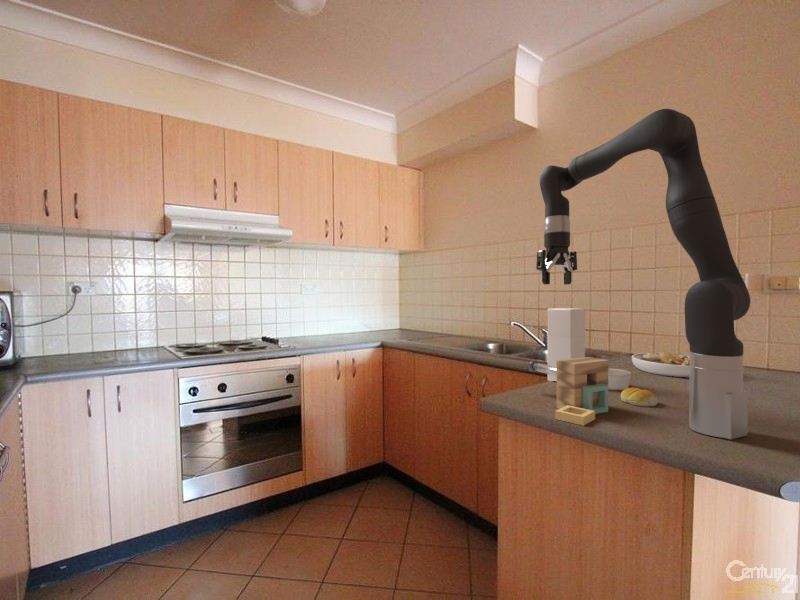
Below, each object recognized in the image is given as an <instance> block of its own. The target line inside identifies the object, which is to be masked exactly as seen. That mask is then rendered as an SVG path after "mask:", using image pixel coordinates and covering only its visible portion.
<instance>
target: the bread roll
mask: <svg viewBox="0 0 800 600" xmlns="http://www.w3.org/2000/svg"><path fill="white" fill-rule="evenodd" d="M620 400H621V401H622V402H623V401H624V403H627V404H629V405H633V406H638V407H655V406H657V405H658V403H659V398H658V397H657V395H656V394H655V393H653V392H652V391H651V390H647V389H641V388H639V387H628V388H627V389H625V390H621V394H620Z"/></svg>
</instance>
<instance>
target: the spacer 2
mask: <svg viewBox="0 0 800 600" xmlns="http://www.w3.org/2000/svg"><path fill="white" fill-rule="evenodd" d="M593 392H598V406H593ZM583 409H588V410H593V411H595V415H597V414H602V413H603V414H604V413H608V412H609V390H608V385H605V384H596V385H589V386H583Z"/></svg>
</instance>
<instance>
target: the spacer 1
mask: <svg viewBox="0 0 800 600" xmlns="http://www.w3.org/2000/svg"><path fill="white" fill-rule="evenodd" d="M554 419H555V420H559V421H562V422H566V423H571V424H574V425H579V426H582V427H584V426H585V425H587V424H589V423H591V422H592V421H595V419H596V414H595V411H593V410H588V409H583V408H579V407H574V406H569V405H567V406H565V407H562V408H560V409H559V408H557V409H556V410H554Z"/></svg>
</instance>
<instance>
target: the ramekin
mask: <svg viewBox="0 0 800 600" xmlns="http://www.w3.org/2000/svg"><path fill="white" fill-rule="evenodd" d="M631 377H632V372H631V371H628V370H626V369H621V368H620V369H619V368H609V367H608V391H623V390H625V389H627V388H630V381H631Z"/></svg>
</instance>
